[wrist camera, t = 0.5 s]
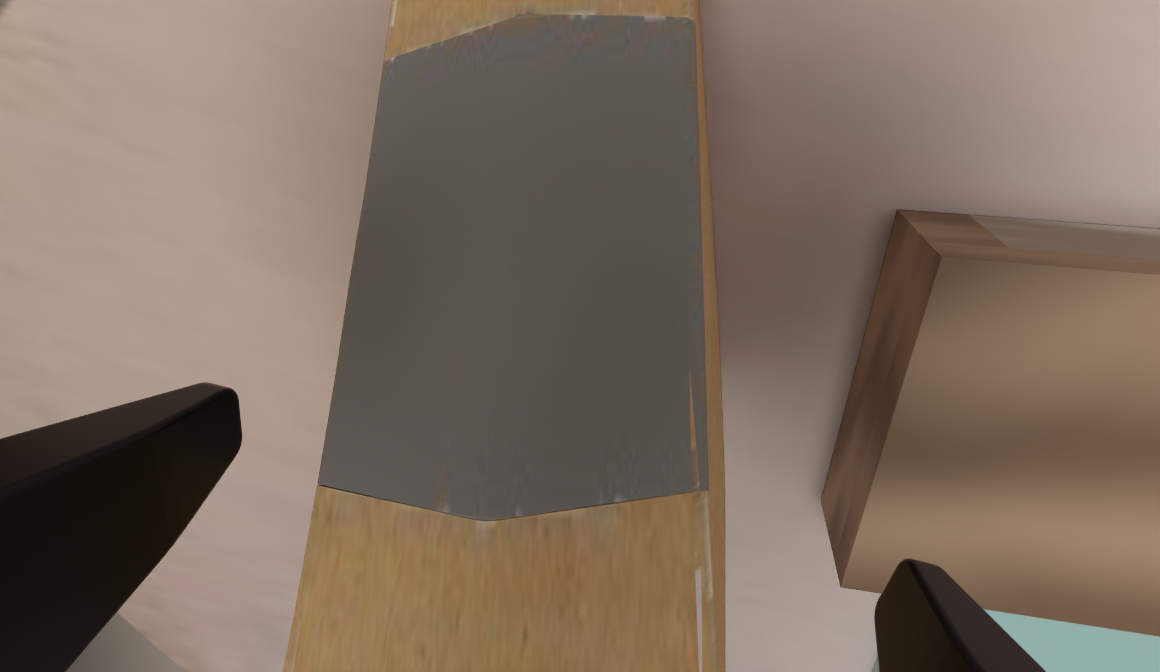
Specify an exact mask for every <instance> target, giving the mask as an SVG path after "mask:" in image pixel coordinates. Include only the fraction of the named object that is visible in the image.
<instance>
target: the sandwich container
mask: <svg viewBox="0 0 1160 672" xmlns="http://www.w3.org/2000/svg"><path fill="white" fill-rule="evenodd" d="M318 484H320V485H317V489H316V495H315V500H314V506H313V512H312V517H311V523H310V528H309V534H308V540H307V545H306V551H305V557H304V562H303V568H302V573H301V579H300V585H299V590H298V596H297V602H296V607H295V613H294V618H293V623H292V628H291V633H290V638H289V643H288V648H287V653H286V658H285V663H284V668H283V672H725V471H724V441H723V412H722V382H721V361H720V342H719V324H718V305H717V287H716V268H715V250H714V231H713V213H712V194H711V179H710V163H709V147H708V131H707V116H706V100H705V84H704V68H703V53H702V37H701V21H700V5H699V0H392V4H391V11H390V19H389V26H388V34H387V41H386V49H385V56H384V64H383V71H382V78H381V84H380V91H379V98H378V105H377V112H376V119H375V125H374V132H373V139H372V146H371V153H370V160H369V167H368V173H367V180H366V187H365V194H364V200H363V205H362V211H361V217H360V223H359V229H358V235H357V240H356V246H355V252H354V258H353V264H352V270H351V276H350V282H349V288H348V295H347V302H346V309H345V315H344V322H343V329H342V335H341V342H340V349H339V356H338V362H337V369H336V375H335V381H334V387H333V393H332V399H331V405H330V411H329V418H328V424H327V430H326V436H325V442H324V448H323V454H322V460H321V466H320V472H319V478H318Z"/></svg>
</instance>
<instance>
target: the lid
mask: <svg viewBox="0 0 1160 672" xmlns="http://www.w3.org/2000/svg"><path fill="white" fill-rule="evenodd" d="M984 610H985V609H984ZM985 611H986V612H987V613H988V614H989V615H990V616H991V617H992V618H993V619H994V620H995V621H996V622H997V623H998V624H999V625H1000V626H1001V627H1002V628H1003V629H1004V630H1005V631H1006V632H1007V633H1008V634H1009V635H1010V636H1011V637H1012V638H1013V639H1014V640H1015V641H1016V642H1017V643H1018V644H1019V645H1020V646H1021V647H1022V648H1023V649H1024V650H1025V651H1026V652H1027V653H1028V654H1029V655H1030V656H1031V657H1032V658H1033V659H1034V660H1035V661H1036V662H1037V663H1038V664H1039V665H1040V666H1041V667H1042V668H1043V669H1044V670H1045V671H1046V672H1160V637H1159V636H1153V635H1146V634H1140V633H1133V632H1127V631H1120V630H1114V629H1107V628H1101V627H1095V626H1088V625H1082V624H1075V623H1069V622H1062V621H1056V620H1049V619H1043V618H1036V617H1030V616H1024V615H1017V614H1011V613H1004V612H998V611H991V610H985ZM873 672H879V664H878V658H877V661H876V664H875V666H874V669H873Z"/></svg>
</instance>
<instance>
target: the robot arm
mask: <svg viewBox="0 0 1160 672" xmlns="http://www.w3.org/2000/svg"><path fill="white" fill-rule="evenodd" d="M241 442H242V430H241V419H240V409H239V399H238V395H237V394H236V392H235V391H234V390H233V389H231V388H228V387H224V386H220V385H216V384H212V383H199V384H195V385H192V386H188V387H184V388H181V389H177V390H174V391H170V392H167V393H163V394H159V395H156V396H152V397H149V398H145V399H141V400H138V401H134V402H131V403H127V404H123V405H120V406H116V407H113V408H109V409H105V410H102V411H98V412H95V413H91V414H88V415H84V416H80V417H77V418H73V419H70V420H66V421H62V422H59V423H55V424H52V425H48V426H44V427H41V428H37V429H34V430H30V431H26V432H23V433H19V434H16V435H12V436H9V437H5V438H1V439H0V672H66V671H67V669H68V668H69V667H70V666H71V664H72V663H73V662H74V661H75V660H76V659H77V658H78V656H79V655H80V654H81V653H82V652H83V651H84V650H85V648H86V647H87V646H88V645H89V644H90V643H91V641H92V640H93V639H94V638H95V637H96V636H97V634H98V633H99V632H100V631H101V630H102V628H103V627H104V626H105V625H106V624H107V623H108V622H109V620H110V619H111V618H112V617H113V616H114V614H115V613H116V612H117V611H118V610H119V609H120V607H121V606H122V605H123V604H124V603H125V602H126V600H127V599H128V598H129V597H130V596H131V595H132V593H133V592H134V591H135V590H136V589H137V588H138V586H139V585H140V584H141V583H142V582H143V581H144V579H145V578H146V577H147V576H148V575H149V574H150V572H151V571H152V570H153V569H154V568H155V567H156V565H157V564H158V563H159V562H160V561H161V559H162V558H163V557H164V556H165V554H166V553H167V552H168V551H169V550H170V548H171V547H172V546H173V544H174V543H175V542H176V540H177V539H178V538H179V536H180V535H181V534H182V532H183V531H184V530H185V528H186V527H187V525H188V524H189V522H190V521H191V520H192V518H193V517H194V515H195V514H196V512H197V511H198V510H199V508H200V507H201V505H202V504H203V502H204V501H205V500H206V498H207V497H208V495H209V494H210V492H211V491H212V490H213V488H214V487H215V485H216V484H217V482H218V481H219V479H220V478H221V477H222V475H223V474H224V472H225V471H226V469H227V468H228V467H229V465H230V464H231V462H232V461H233V459H234V458H235V457H236V455H237V453H238V451H239V449H240V446H241ZM875 631H876V642H877V653H878V664H879V672H1046V671H1045V670H1044V669H1043V668H1042V667H1041V666H1040V665H1039V664H1038V663H1037V662H1036V661H1035V660H1034V659H1033V658H1032V657H1031V656H1030V655H1029V654H1028V653H1027V652H1026V651H1025V650H1024V649H1023V648H1022V647H1021V646H1020V645H1019V644H1018V643H1017V642H1016V641H1015V640H1014V639H1013V638H1012V637H1011V636H1010V635H1009V634H1008V633H1007V632H1006V631H1005V630H1004V629H1003V628H1002V627H1001V626H1000V625H999V624H998V623H997V622H996V621H995V620H994V619H993V618H992V617H991V616H990V615H989V614H988V613H987V612H986V611H985V610H984V609H983V608H982V607H981V606H980V605H979V604H978V603H977V602H976V601H975V600H974V599H973V598H972V597H971V596H970V595H969V594H968V593H967V592H966V591H964V590H963V589H962V588H961V587H960V586H959V585H958V584H957V583H956V582H955V581H954V580H953V579H952V578H951V577H950V576H949V575H948V574H947V573H946V572H945V571H944V570H943V569H942V568H941V567H939V566H937V565H934V564H931V563H927V562H923V561H919V560H915V559H910V558H908V559H904V560H902V561H901V562H900V563H899V564H898V566H897V567H896V569H895V571H894V572H893V574H892V576H891V578H890V580H889V581H888V583H887V585H886V587H885V589H884V590H883V592H882V594H881V596H880V597H879V599H878V602H877V605H876V609H875Z"/></svg>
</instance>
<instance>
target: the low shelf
mask: <svg viewBox="0 0 1160 672" xmlns="http://www.w3.org/2000/svg"><path fill="white" fill-rule="evenodd" d="M821 503H822V508H823V512H824V516H825V521H826V525H827V530H828V534H829V538H830V543H831V547H832V551H833V556H834V560H835V565H836V569H837V573H838V578H839V582H840V586H841V587H843V588H849V589H856V590H862V591H869V592H875V593H882V592H883V590H884V589H885V587H886V585H887V583H888V581H889V580H890V578H891V576H892V574H893V572H894V571H895V569H896V567H897V566H898V564H899V563H900V562H901V561H902V560H904V559H908V558H910V559H915V560H919V561H923V562H927V563H931V564H934V565H937V566H939V567H941V568H942V569H943V570H944V571H945V572H946V573H947V574H948V575H949V576H950V577H951V578H952V579H953V580H954V581H955V582H956V583H957V584H958V585H959V586H960V587H961V588H962V589H963V590H964V591H966V592H967V593H968V594H969V595H970V596H971V597H972V598H973V599H974V600H975V601H976V602H977V603H978V604H979V605H980V606H981V607H982V608H983V609H985V610H991V611H998V612H1004V613H1011V614H1017V615H1024V616H1030V617H1036V618H1043V619H1049V620H1056V621H1062V622H1069V623H1075V624H1082V625H1088V626H1095V627H1101V628H1107V629H1114V630H1120V631H1127V632H1133V633H1140V634H1146V635H1153V636H1159V637H1160V229H1156V228H1143V227H1129V226H1115V225H1102V224H1088V223H1074V222H1060V221H1047V220H1033V219H1019V218H1006V217H992V216H978V215H965V214H951V213H937V212H923V211H910V210H897V213H896V217H895V221H894V225H893V228H892V232H891V236H890V240H889V244H888V247H887V251H886V255H885V259H884V263H883V267H882V270H881V274H880V278H879V282H878V286H877V289H876V293H875V297H874V301H873V305H872V308H871V312H870V316H869V320H868V324H867V327H866V331H865V335H864V339H863V343H862V346H861V350H860V354H859V358H858V362H857V365H856V369H855V373H854V377H853V381H852V384H851V388H850V392H849V396H848V400H847V403H846V407H845V411H844V415H843V419H842V423H841V426H840V430H839V434H838V438H837V442H836V445H835V449H834V453H833V457H832V461H831V464H830V468H829V472H828V476H827V480H826V483H825V487H824V491H823V495H822V499H821Z"/></svg>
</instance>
